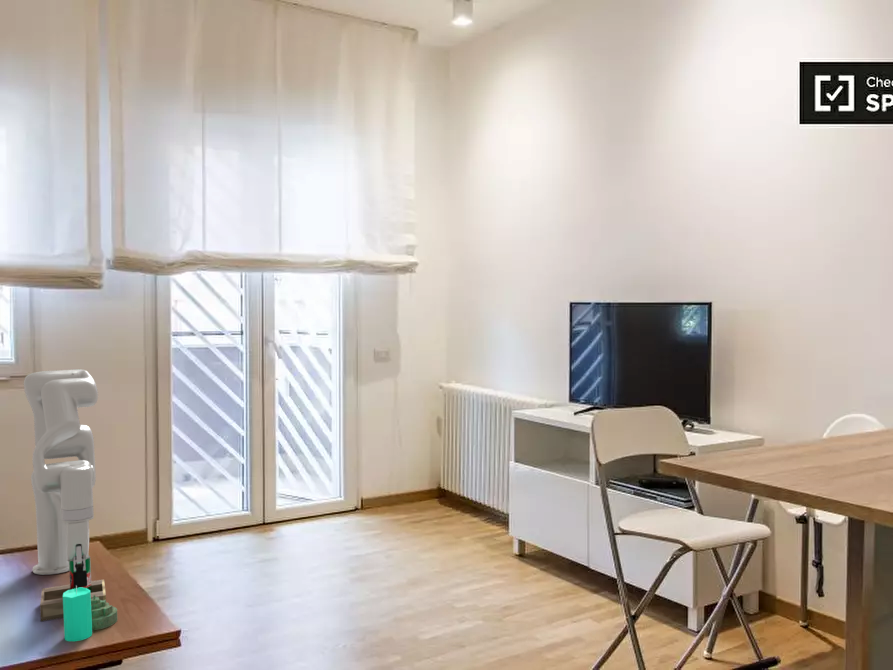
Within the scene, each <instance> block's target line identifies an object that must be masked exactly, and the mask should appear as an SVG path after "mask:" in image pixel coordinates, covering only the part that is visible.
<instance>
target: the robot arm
mask: <svg viewBox="0 0 893 670" xmlns="http://www.w3.org/2000/svg"><path fill="white" fill-rule="evenodd" d="M23 389H24V393H25V394H24V395H25V397H26V399H27V401H28V404H29V407H30V408H31V410H32V414H33V415H32V416H33V423H34V425H33V427H34V444H35V447H34V449H33V453H32V470H33V471H32V472H31V476H30V481H31V486H32V491H33V496H34V497H33V498H34V503H35V504H34V506H35V517H36V518H35V519H36V521H35V522H36V542H37V543H36V544H37V561H38V563H37V564H35V565H34V566H32V573H34V574H35V575H41V576H45V575H57V574H58V575H59V574H62V573H66V572H69V562H70V560H73V559H74V561H73V562H74V572H73V585H74V588H76V586H77V588H78V587H84V586H87V570H86V567H85V559H87V558H88V555H89V554H88V553H89V552H90V550H89V549H90V520H93V519H94V518H95V517H94V515H95V514H94V491H93V488H95V485H96V477H97V476H96V475H97V474H96V457H95V456H96V453H95V441H94V438H95V437H94V435H93V432H92V429H91V428H90V426H88V425H87V424H81V423H80V417H79V412H78V411H79V410H78V408H88V407H94V406H95V405H96V404H97V403H98V399H99V391H98V386H97V383H96V381H95V379H94V377H93V376H92V375H91V374H90V373H89V371H88V370H85V369H80V368H79V369H61V370H57V369H56V370H44V371H43V370H42V371H37V372H36V371H35V372H31V373H29V374H27V375H26V376H25V378H24V380H23ZM74 457H75V458H77V460H70V461H60V462H51V463H46V462H45V460H54V459H64V458H74ZM83 555H84V559H82V557H83ZM75 557H76V558H77V560H75ZM82 561H83V563H82ZM76 562H77V564H76Z"/></svg>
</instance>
